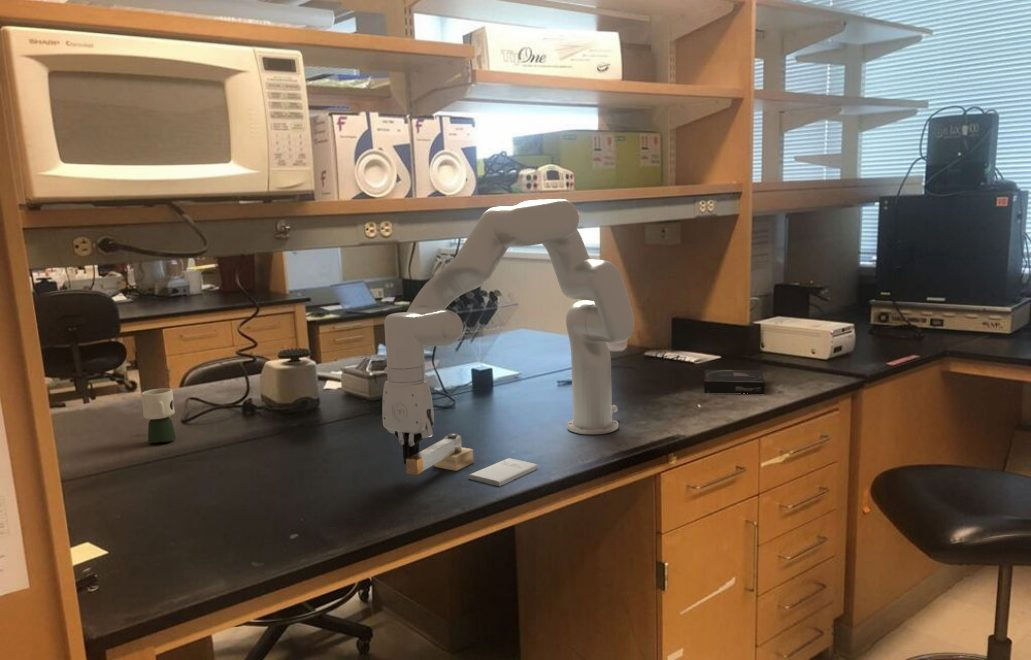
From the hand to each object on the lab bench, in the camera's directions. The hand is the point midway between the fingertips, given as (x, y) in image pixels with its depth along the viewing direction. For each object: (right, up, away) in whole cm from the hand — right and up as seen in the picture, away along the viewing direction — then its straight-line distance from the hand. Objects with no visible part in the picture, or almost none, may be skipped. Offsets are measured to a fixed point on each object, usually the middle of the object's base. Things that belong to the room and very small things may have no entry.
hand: (411, 462), depth 156 cm
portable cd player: (+85, +9, +69) cm, 110 cm away
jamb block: (+8, -2, +9) cm, 12 cm away
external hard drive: (+19, -3, +2) cm, 19 cm away
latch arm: (+5, 0, +2) cm, 5 cm away
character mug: (-67, -1, +36) cm, 76 cm away
